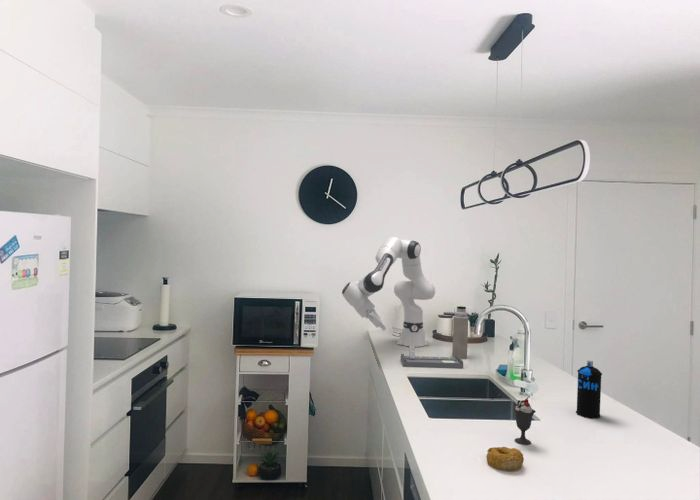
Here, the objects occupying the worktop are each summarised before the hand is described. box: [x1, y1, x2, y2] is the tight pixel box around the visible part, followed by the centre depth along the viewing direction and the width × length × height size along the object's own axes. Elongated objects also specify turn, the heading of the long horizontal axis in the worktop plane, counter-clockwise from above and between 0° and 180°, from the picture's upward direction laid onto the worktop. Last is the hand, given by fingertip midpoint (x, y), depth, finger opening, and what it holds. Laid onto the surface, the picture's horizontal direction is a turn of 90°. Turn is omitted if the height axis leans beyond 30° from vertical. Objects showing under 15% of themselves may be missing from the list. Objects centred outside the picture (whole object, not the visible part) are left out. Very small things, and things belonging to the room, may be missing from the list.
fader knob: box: [408, 340, 416, 359], centre depth 246 cm, size 3×2×9 cm
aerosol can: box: [575, 359, 603, 419], centre depth 177 cm, size 8×8×20 cm
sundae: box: [512, 395, 536, 446], centre depth 150 cm, size 7×7×15 cm
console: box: [400, 353, 464, 369], centre depth 247 cm, size 13×30×4 cm, turn 90°
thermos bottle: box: [451, 305, 469, 360], centre depth 265 cm, size 8×8×28 cm
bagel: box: [486, 446, 525, 472], centre depth 134 cm, size 10×11×5 cm
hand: (384, 329), depth 246 cm, fingers closed
